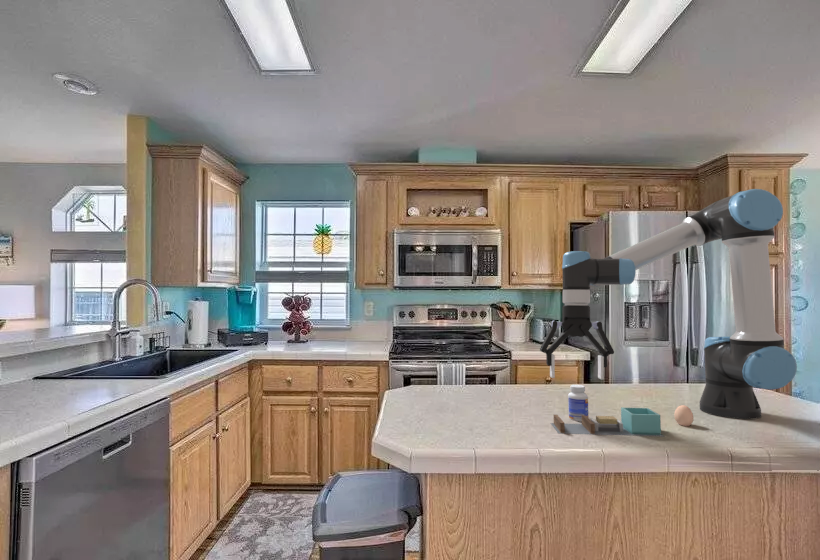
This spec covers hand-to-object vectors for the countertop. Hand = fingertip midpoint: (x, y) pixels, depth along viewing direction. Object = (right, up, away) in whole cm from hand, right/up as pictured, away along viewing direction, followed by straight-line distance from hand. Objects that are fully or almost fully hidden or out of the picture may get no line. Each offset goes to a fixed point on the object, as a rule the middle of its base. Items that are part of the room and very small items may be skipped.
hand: (576, 378), depth 125 cm
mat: (+3, -12, -11) cm, 16 cm away
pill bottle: (0, -12, -1) cm, 12 cm away
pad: (+4, -9, -11) cm, 15 cm away
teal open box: (+12, -11, -12) cm, 20 cm away
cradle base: (+4, -11, -11) cm, 16 cm away
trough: (-5, -11, -10) cm, 16 cm away
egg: (+27, -12, -7) cm, 30 cm away
